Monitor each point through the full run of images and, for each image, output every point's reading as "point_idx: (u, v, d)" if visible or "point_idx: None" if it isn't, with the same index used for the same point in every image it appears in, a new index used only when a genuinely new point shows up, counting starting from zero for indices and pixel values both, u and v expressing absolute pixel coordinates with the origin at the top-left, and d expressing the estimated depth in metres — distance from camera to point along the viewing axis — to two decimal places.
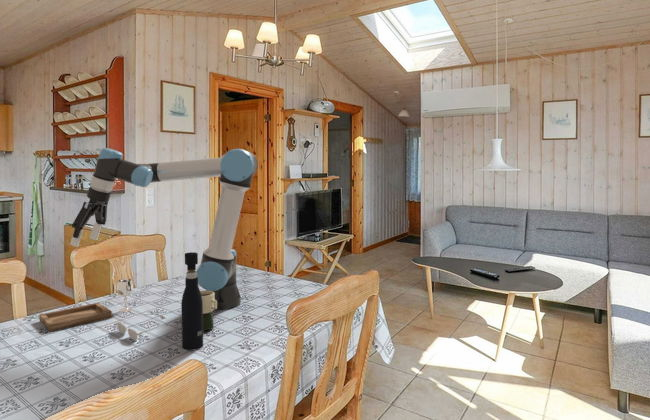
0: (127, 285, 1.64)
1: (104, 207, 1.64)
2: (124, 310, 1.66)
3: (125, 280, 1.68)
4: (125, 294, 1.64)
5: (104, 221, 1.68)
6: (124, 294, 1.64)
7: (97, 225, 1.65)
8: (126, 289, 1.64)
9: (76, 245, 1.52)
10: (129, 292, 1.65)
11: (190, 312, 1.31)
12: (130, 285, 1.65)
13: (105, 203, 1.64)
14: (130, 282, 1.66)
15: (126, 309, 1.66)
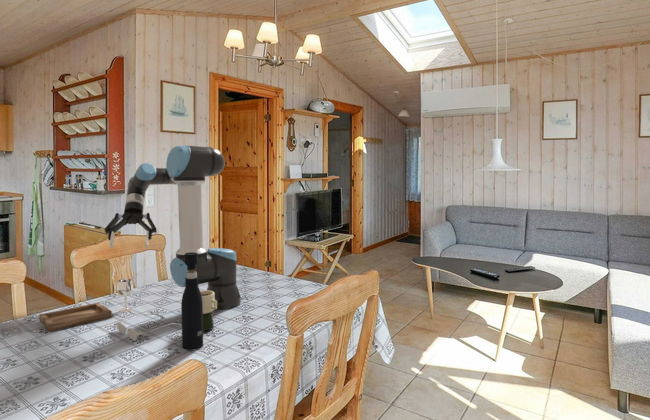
0: (127, 285, 1.64)
1: (147, 218, 1.85)
2: (124, 310, 1.66)
3: (125, 280, 1.68)
4: (125, 294, 1.64)
5: (153, 228, 1.81)
6: (124, 294, 1.64)
7: None
8: (126, 289, 1.64)
9: None
10: (129, 292, 1.65)
11: (190, 312, 1.31)
12: (130, 285, 1.65)
13: (146, 215, 1.86)
14: (130, 282, 1.66)
15: (126, 309, 1.66)
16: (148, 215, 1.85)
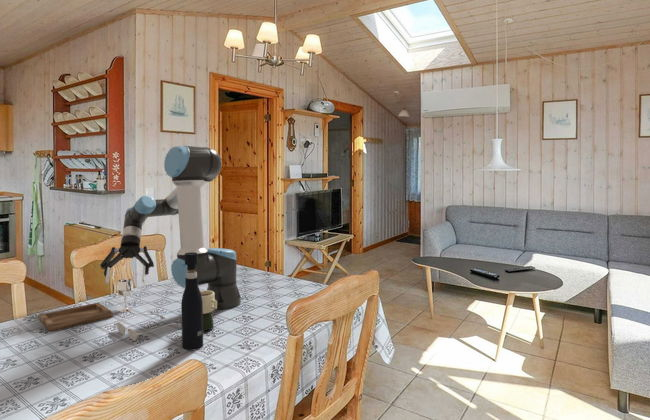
0: (127, 285, 1.64)
1: (144, 251, 1.80)
2: (124, 310, 1.66)
3: (125, 280, 1.68)
4: (125, 294, 1.64)
5: (150, 263, 1.77)
6: (124, 294, 1.64)
7: None
8: (126, 289, 1.64)
9: None
10: (129, 292, 1.65)
11: (190, 312, 1.31)
12: (130, 285, 1.65)
13: (143, 248, 1.81)
14: (130, 282, 1.66)
15: (126, 309, 1.66)
16: (145, 249, 1.81)
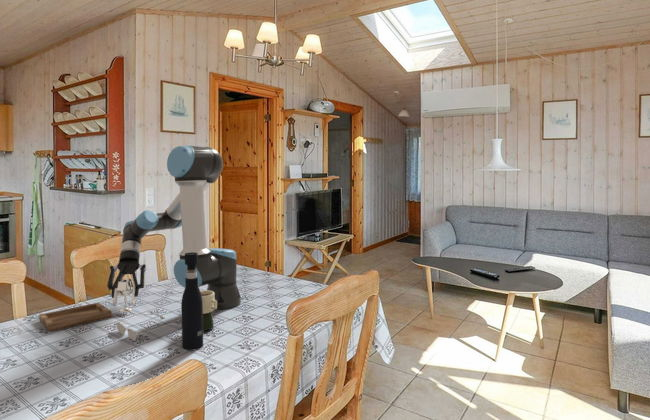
0: (127, 285, 1.64)
1: None
2: (124, 310, 1.66)
3: (125, 280, 1.68)
4: (125, 294, 1.64)
5: (140, 284, 1.69)
6: (124, 294, 1.64)
7: (133, 290, 1.68)
8: (126, 289, 1.64)
9: (113, 302, 1.62)
10: (129, 292, 1.65)
11: (190, 312, 1.31)
12: (130, 285, 1.65)
13: (142, 266, 1.74)
14: (130, 282, 1.66)
15: (126, 309, 1.66)
16: (143, 267, 1.74)
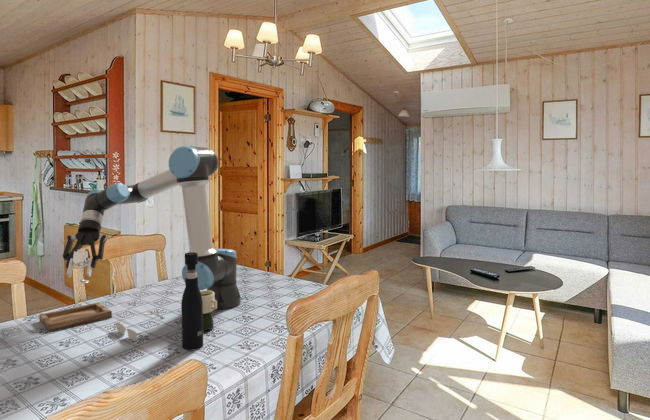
0: (83, 255, 1.55)
1: None
2: (80, 282, 1.57)
3: (82, 250, 1.59)
4: (81, 265, 1.55)
5: None
6: (80, 264, 1.55)
7: None
8: (82, 259, 1.55)
9: (67, 273, 1.53)
10: (86, 263, 1.56)
11: (190, 312, 1.31)
12: (86, 255, 1.56)
13: (102, 237, 1.65)
14: (87, 252, 1.56)
15: (82, 281, 1.57)
16: (103, 238, 1.64)
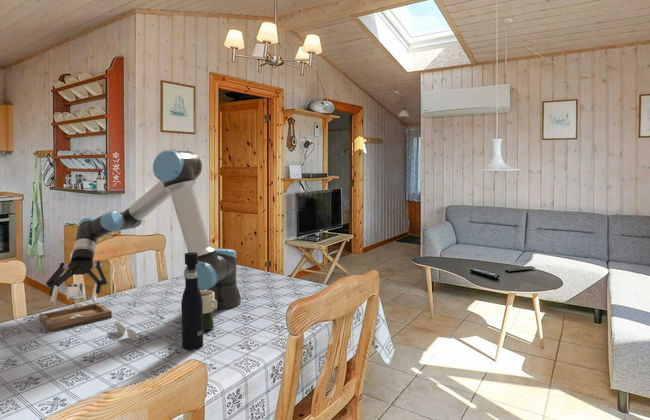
0: (77, 290, 1.54)
1: (96, 267, 1.63)
2: (75, 317, 1.55)
3: (76, 284, 1.58)
4: (75, 300, 1.54)
5: (102, 280, 1.59)
6: (74, 300, 1.53)
7: None
8: (76, 294, 1.53)
9: (51, 301, 1.51)
10: (80, 298, 1.54)
11: (190, 312, 1.31)
12: (81, 290, 1.55)
13: (96, 263, 1.64)
14: (81, 287, 1.55)
15: (77, 316, 1.56)
16: (98, 264, 1.63)
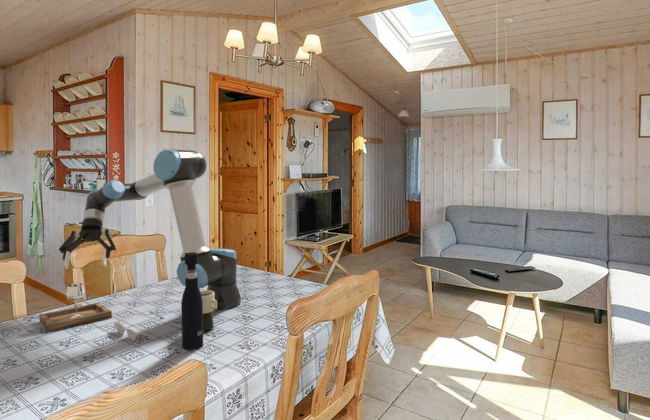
0: (77, 290, 1.54)
1: (105, 235, 1.74)
2: (75, 317, 1.55)
3: (76, 284, 1.58)
4: (75, 300, 1.54)
5: (111, 246, 1.71)
6: (74, 300, 1.53)
7: None
8: (76, 294, 1.53)
9: None
10: (80, 298, 1.54)
11: (190, 312, 1.31)
12: (81, 290, 1.55)
13: (105, 231, 1.75)
14: (81, 287, 1.55)
15: (77, 316, 1.56)
16: (107, 232, 1.75)
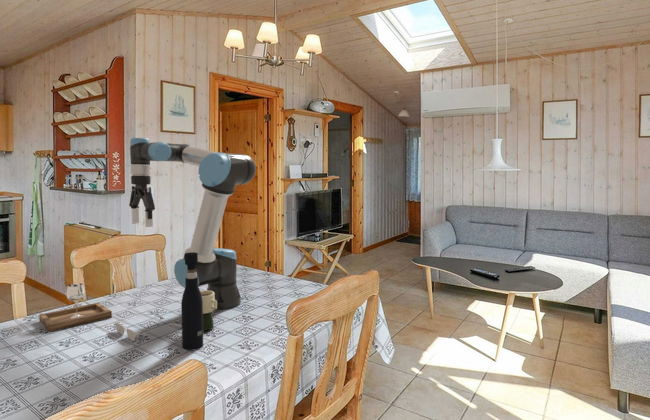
0: (77, 290, 1.54)
1: None
2: (75, 317, 1.55)
3: (76, 284, 1.58)
4: (75, 300, 1.54)
5: (148, 209, 1.73)
6: (74, 300, 1.53)
7: None
8: (76, 294, 1.53)
9: None
10: (80, 298, 1.54)
11: (190, 312, 1.31)
12: (81, 290, 1.55)
13: None
14: (81, 287, 1.55)
15: (77, 316, 1.56)
16: (144, 190, 1.73)
